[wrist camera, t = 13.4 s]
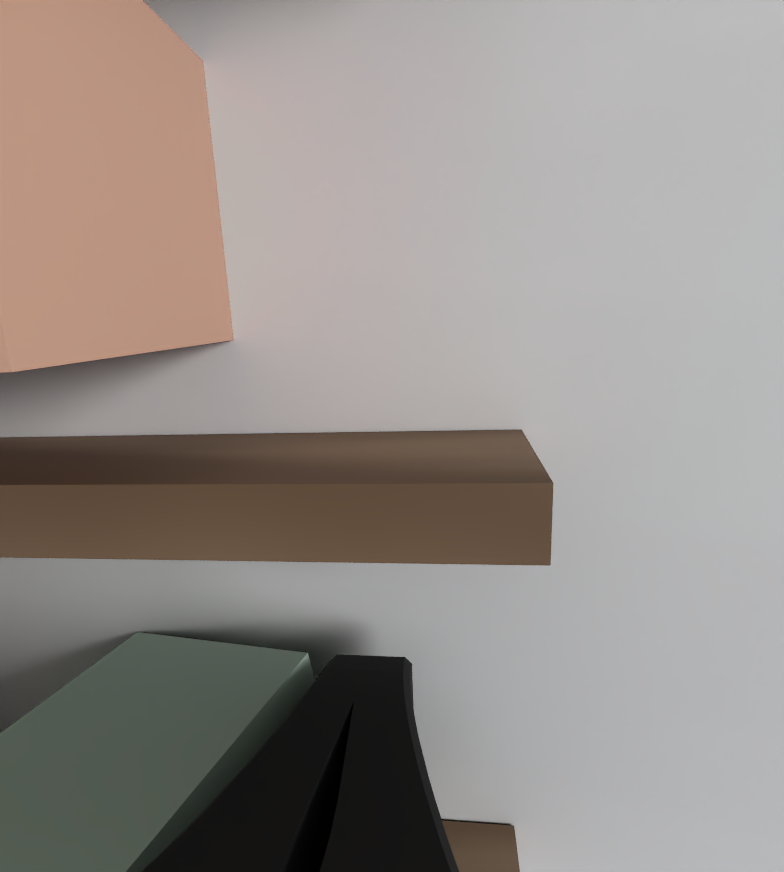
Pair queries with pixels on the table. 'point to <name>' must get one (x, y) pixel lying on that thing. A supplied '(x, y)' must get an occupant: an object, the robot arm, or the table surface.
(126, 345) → the terracotta block
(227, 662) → the sage block
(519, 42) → the table surface
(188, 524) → the rack
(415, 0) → the table surface
